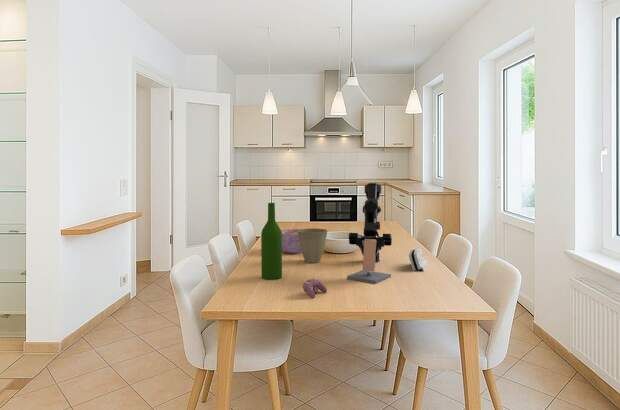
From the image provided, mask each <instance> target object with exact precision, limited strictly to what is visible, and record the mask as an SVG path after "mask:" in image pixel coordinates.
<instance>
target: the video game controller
mask: <svg viewBox="0 0 620 410" xmlns="http://www.w3.org/2000/svg"><path fill="white" fill-rule="evenodd" d="M302 289H303V291H304V292H305V293H306V295H307V296H308V297H310V298H312V299H314V298H316V294H317V293H319V291H321V292H322V293H324V294H327V292H328V289H327V286H325V284H324V283H322V281H321V280H320V279H318V278H310V279H308V280H306V281H305V282H304V283H303V284H302Z"/></svg>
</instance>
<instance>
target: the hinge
mask: <svg viewBox="0 0 620 410" xmlns="http://www.w3.org/2000/svg"><path fill="white" fill-rule="evenodd" d="M408 259H409V261H410V265H411V267H412V268H411V269H412V271H417V270H422V272H425V271H426V269H427V268H428V267H429V265H430V263H429V261H428V260H427V259H425V256H424V253H423V250H422V248H415V249H412V250H410V251H409V253H408Z"/></svg>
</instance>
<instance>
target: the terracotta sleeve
mask: <svg viewBox="0 0 620 410" xmlns="http://www.w3.org/2000/svg"><path fill="white" fill-rule="evenodd" d="M375 252H376V239H365V240H364V255H362V256H363V257H362V270H365V271H373V272H376V271H375V270H376V262H375V257H376V256H375Z"/></svg>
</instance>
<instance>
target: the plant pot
mask: <svg viewBox="0 0 620 410" xmlns="http://www.w3.org/2000/svg"><path fill="white" fill-rule="evenodd" d="M299 229H300V230H298V237H299V243H300V247H301V253H302V256H303V259H304V262H305V263H307V264H317V263H320V262H321V259H322V257H323V255H324V251H325V246H326V242H327V235H328V229H324V228H315V227H314V228H311V227H310V228H302V229H301V228H299Z"/></svg>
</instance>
